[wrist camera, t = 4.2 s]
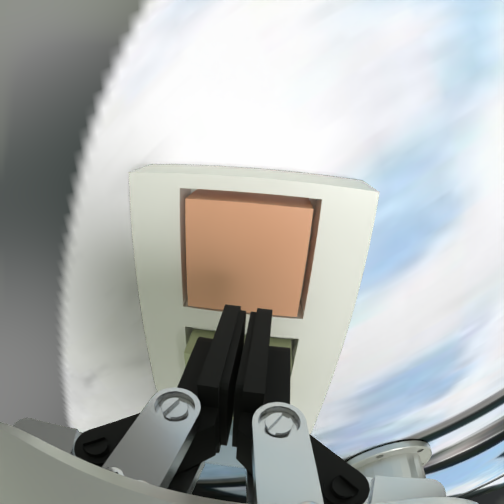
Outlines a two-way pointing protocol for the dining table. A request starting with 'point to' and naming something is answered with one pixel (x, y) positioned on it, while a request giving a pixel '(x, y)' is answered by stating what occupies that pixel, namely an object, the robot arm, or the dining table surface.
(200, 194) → the terracotta key
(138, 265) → the keypad
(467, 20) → the dining table surface
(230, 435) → the slate blue key
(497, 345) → the dining table surface
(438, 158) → the dining table surface
